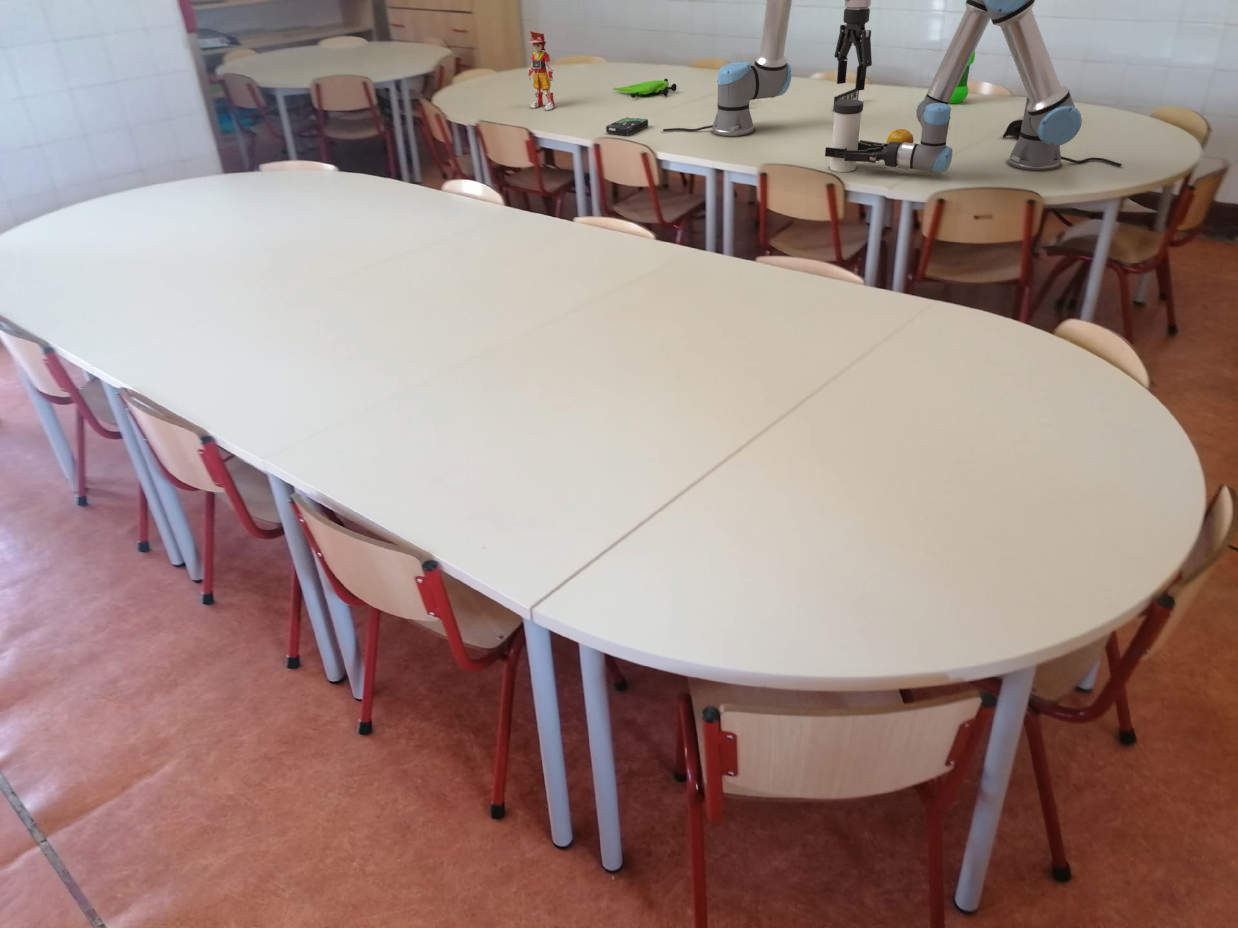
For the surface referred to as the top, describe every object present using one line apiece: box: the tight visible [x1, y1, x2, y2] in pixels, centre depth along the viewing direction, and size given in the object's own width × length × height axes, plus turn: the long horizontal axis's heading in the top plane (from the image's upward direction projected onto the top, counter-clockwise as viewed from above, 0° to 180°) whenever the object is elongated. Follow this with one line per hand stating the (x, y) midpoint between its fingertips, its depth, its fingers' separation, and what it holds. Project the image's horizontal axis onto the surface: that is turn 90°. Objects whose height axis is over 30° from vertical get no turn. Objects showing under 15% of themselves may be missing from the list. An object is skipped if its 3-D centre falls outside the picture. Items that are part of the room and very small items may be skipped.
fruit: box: [886, 128, 915, 144], centre depth 303 cm, size 8×8×8 cm
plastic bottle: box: [949, 50, 976, 104], centre depth 348 cm, size 10×10×25 cm
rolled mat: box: [1002, 115, 1024, 140], centre depth 316 cm, size 30×9×10 cm
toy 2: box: [612, 78, 677, 99], centre depth 396 cm, size 28×5×30 cm
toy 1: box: [527, 31, 556, 111], centre depth 374 cm, size 12×9×30 cm
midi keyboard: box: [832, 88, 860, 111], centre depth 357 cm, size 18×1×5 cm, turn 138°
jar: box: [829, 112, 862, 173], centre depth 288 cm, size 8×8×20 cm
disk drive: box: [605, 116, 649, 136], centre depth 345 cm, size 10×3×15 cm
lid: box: [833, 99, 864, 114], centre depth 282 cm, size 9×9×2 cm
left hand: (850, 86), depth 279 cm, fingers open, 10 cm apart
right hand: (830, 148), depth 292 cm, fingers closed on jar, 8 cm apart
